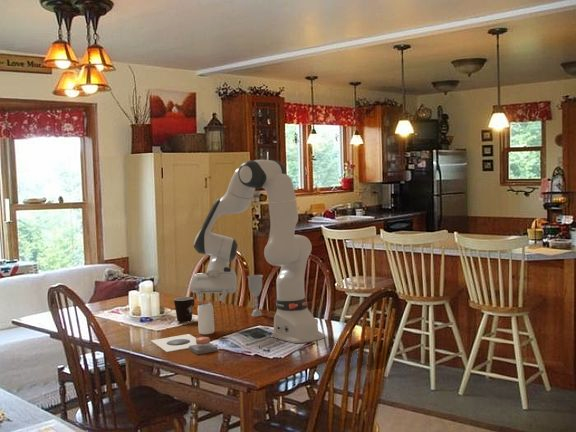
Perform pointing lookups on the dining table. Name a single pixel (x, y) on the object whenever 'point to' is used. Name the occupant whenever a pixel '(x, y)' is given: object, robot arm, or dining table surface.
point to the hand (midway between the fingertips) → (209, 300)
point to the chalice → (255, 291)
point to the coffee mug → (184, 308)
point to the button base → (203, 348)
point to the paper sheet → (175, 342)
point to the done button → (202, 340)
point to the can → (205, 318)
